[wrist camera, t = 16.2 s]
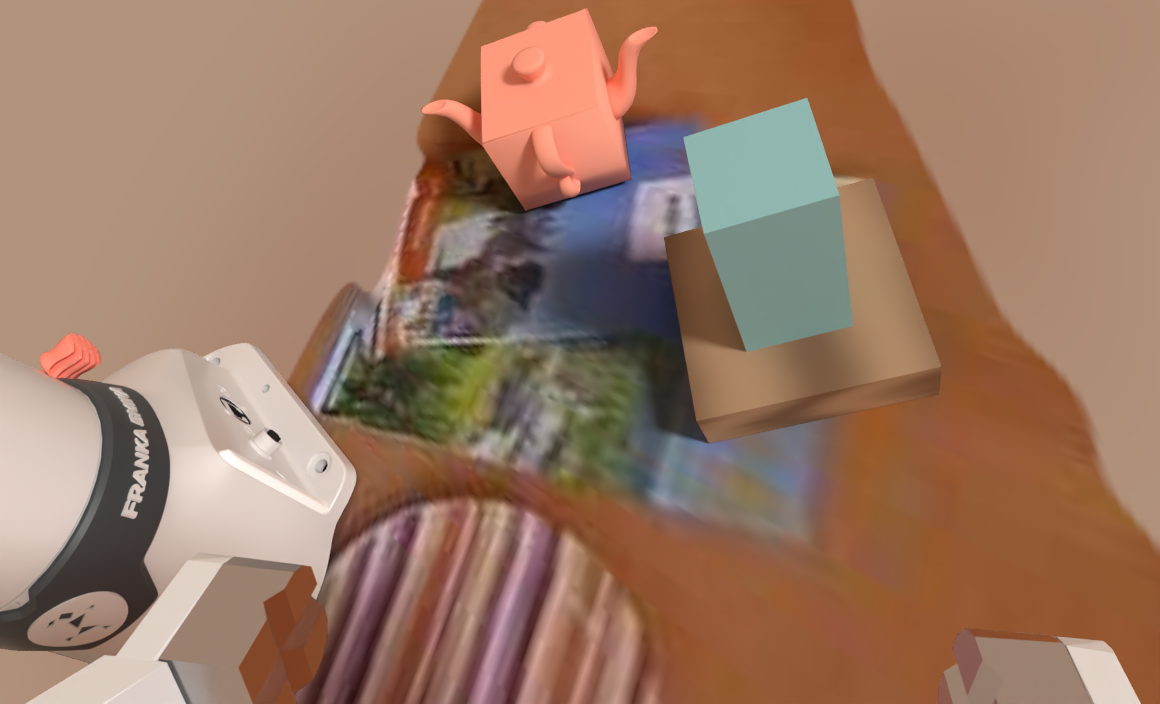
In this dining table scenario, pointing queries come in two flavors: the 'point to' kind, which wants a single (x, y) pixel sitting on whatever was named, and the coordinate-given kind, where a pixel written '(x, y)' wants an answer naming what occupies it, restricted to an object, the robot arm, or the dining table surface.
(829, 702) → the dining table surface
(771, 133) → the teal pillar
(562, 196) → the teapot
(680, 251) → the walnut plinth
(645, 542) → the dining table surface
